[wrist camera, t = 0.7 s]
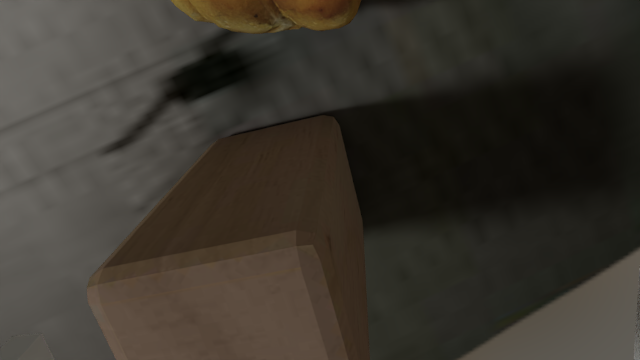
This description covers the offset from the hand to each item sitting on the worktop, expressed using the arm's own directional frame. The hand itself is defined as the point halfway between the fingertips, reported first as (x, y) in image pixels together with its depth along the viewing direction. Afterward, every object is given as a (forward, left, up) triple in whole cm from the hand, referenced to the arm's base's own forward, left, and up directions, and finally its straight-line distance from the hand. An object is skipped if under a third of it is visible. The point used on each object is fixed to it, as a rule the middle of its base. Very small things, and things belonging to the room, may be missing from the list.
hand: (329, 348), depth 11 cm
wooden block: (+3, -7, -27) cm, 28 cm away
